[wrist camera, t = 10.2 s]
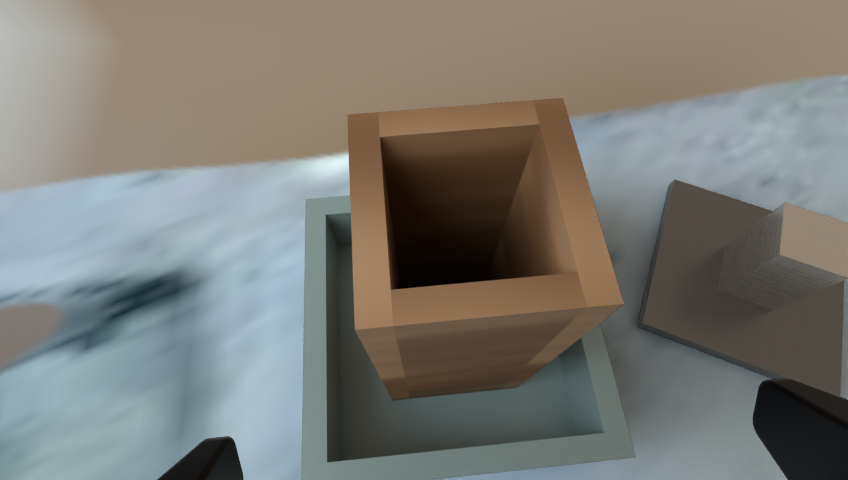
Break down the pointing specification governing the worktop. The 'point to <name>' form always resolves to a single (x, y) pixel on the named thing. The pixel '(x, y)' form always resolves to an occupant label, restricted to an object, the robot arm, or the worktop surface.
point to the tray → (439, 415)
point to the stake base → (726, 317)
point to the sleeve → (472, 245)
